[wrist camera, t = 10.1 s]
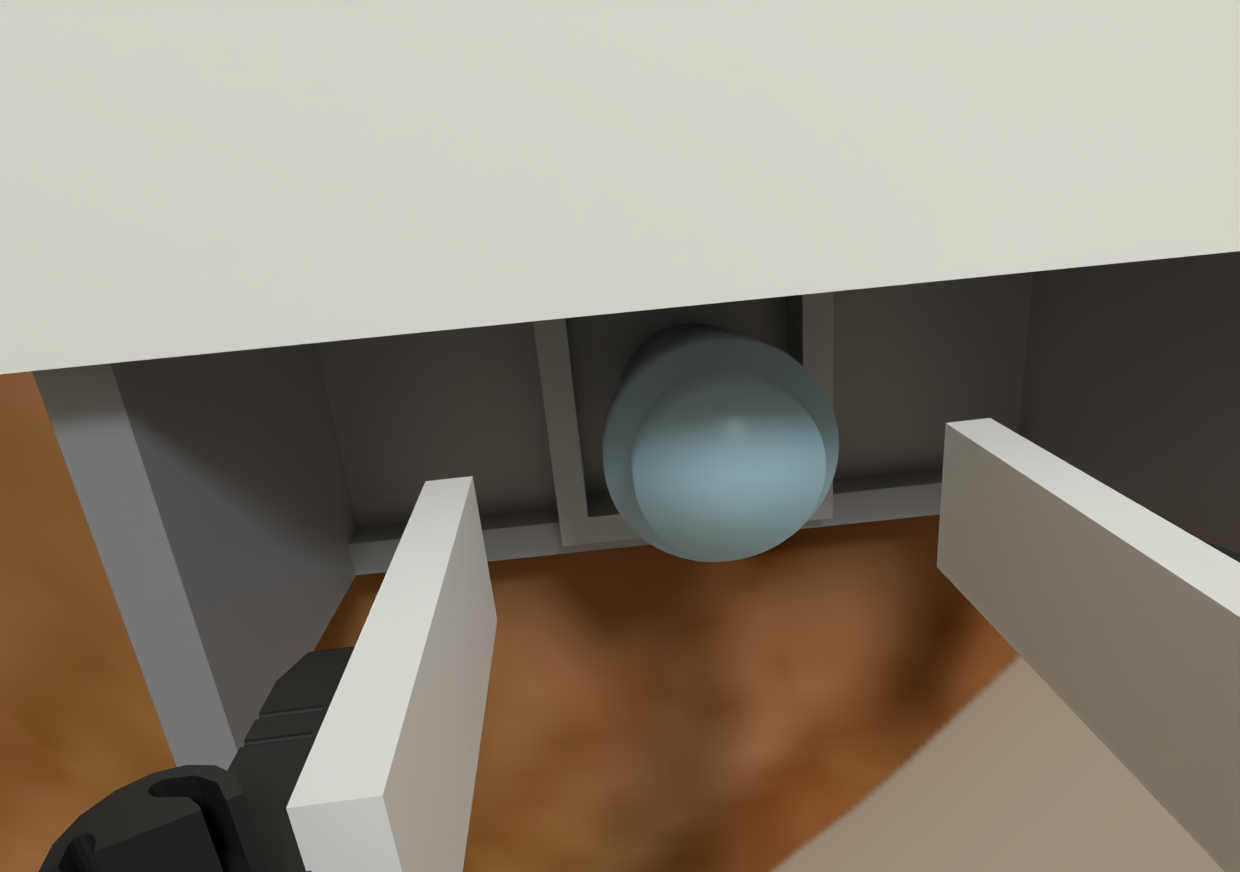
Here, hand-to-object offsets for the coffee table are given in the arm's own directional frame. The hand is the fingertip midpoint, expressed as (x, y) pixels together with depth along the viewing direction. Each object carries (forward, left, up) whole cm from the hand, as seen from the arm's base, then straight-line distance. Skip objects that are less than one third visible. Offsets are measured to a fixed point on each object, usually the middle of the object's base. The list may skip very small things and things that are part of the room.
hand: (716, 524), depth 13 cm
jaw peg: (+1, 0, -9) cm, 9 cm away
